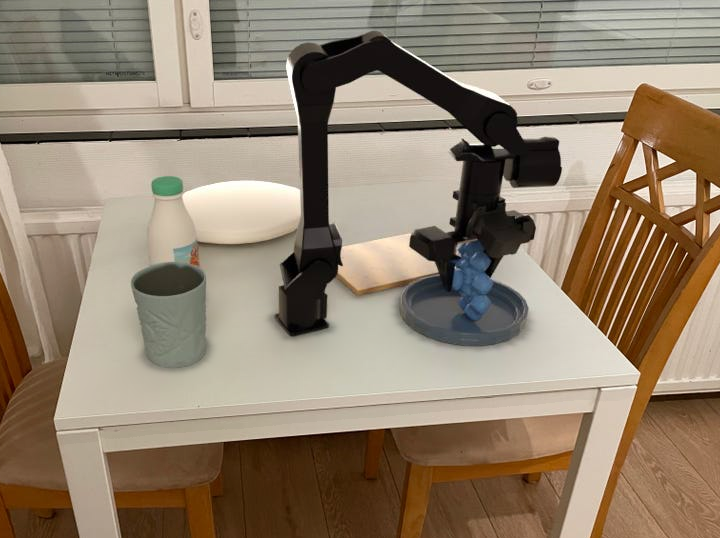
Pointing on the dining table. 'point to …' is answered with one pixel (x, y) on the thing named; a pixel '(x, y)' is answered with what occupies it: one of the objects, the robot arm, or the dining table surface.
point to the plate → (243, 211)
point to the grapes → (472, 279)
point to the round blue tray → (462, 313)
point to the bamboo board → (382, 265)
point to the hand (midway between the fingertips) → (466, 286)
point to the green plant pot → (172, 312)
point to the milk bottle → (171, 225)
